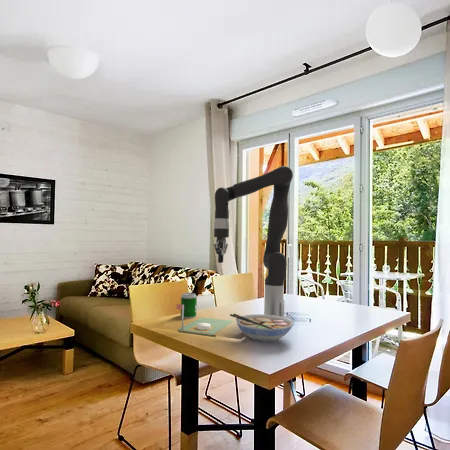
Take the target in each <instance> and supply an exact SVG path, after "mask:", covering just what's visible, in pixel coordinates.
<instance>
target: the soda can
mask: <svg viewBox="0 0 450 450" xmlns="http://www.w3.org/2000/svg"><path fill="white" fill-rule="evenodd" d="M197 297H198V296H197V295H196V293H194V292H183V293H182V294H181V296H180V304H181V305H184V319H194V318H197V308H198V307H197V305H198V304H197V303H198V301H197V300H198V299H197ZM180 318H182V310H181V309H180Z"/></svg>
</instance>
